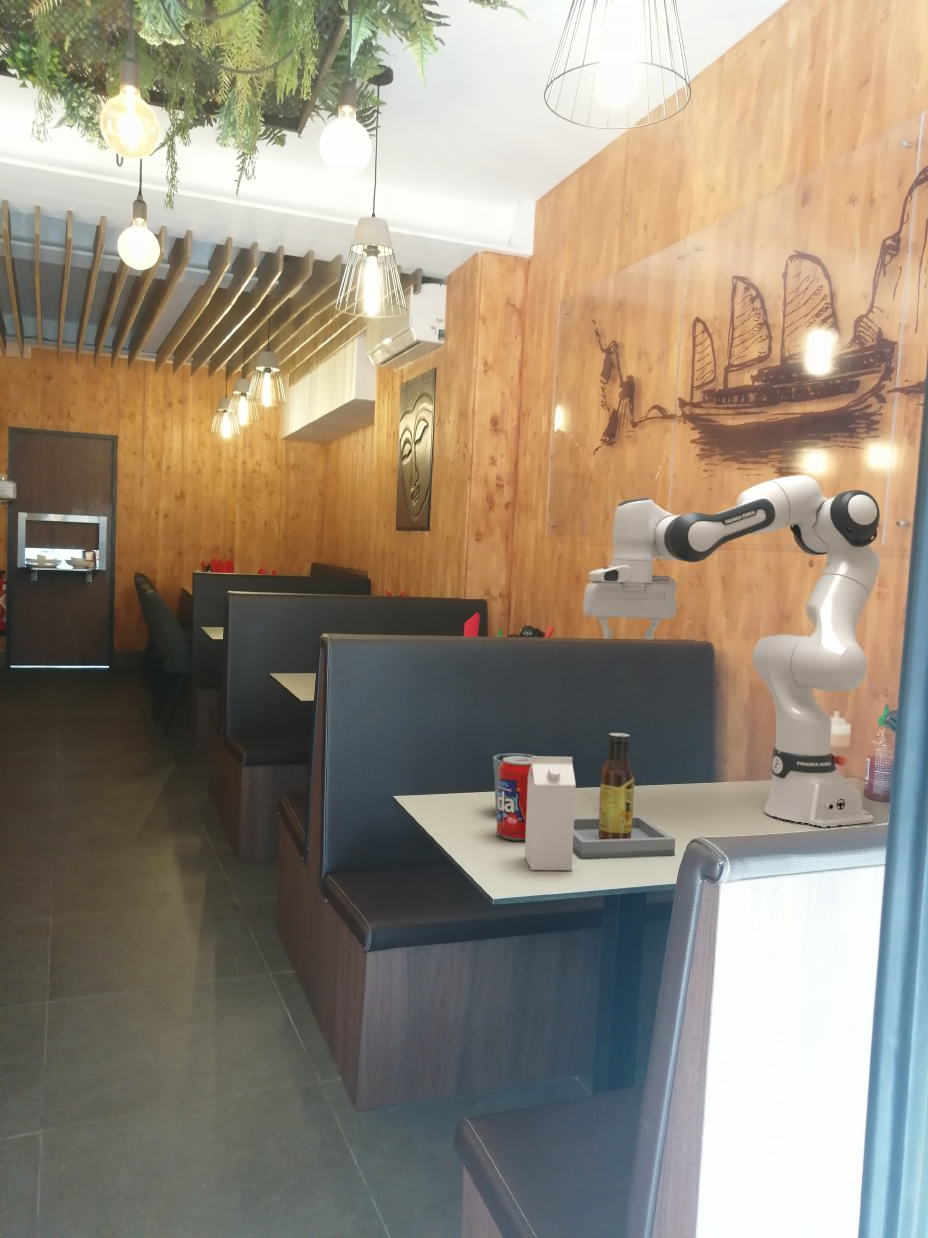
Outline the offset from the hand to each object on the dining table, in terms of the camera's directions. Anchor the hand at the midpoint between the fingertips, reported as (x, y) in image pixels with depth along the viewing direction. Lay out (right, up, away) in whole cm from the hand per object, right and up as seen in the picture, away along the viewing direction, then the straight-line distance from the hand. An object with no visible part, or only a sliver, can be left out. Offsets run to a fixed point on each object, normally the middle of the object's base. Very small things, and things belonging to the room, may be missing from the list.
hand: (628, 639), depth 190 cm
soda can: (-25, -38, -20) cm, 49 cm away
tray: (-7, -38, -22) cm, 45 cm away
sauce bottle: (-7, -38, -22) cm, 44 cm away
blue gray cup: (-24, -37, -4) cm, 44 cm away
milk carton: (-21, -39, -35) cm, 56 cm away
